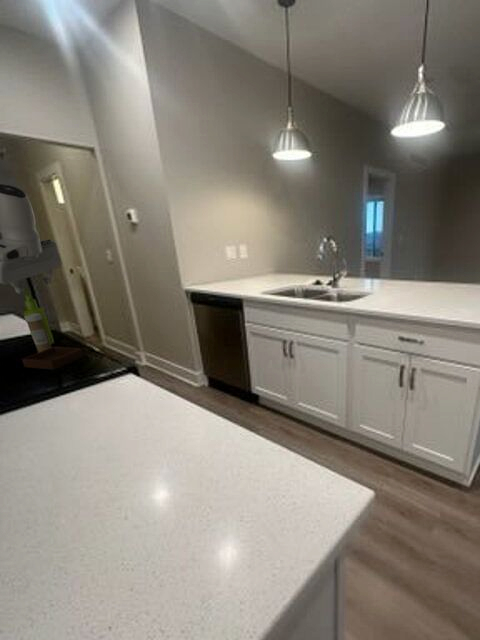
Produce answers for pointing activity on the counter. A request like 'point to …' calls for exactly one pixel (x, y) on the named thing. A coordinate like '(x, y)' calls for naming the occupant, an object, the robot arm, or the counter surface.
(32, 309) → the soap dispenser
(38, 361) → the food tray
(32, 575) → the counter surface
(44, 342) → the sprinkles bottle
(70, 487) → the counter surface
